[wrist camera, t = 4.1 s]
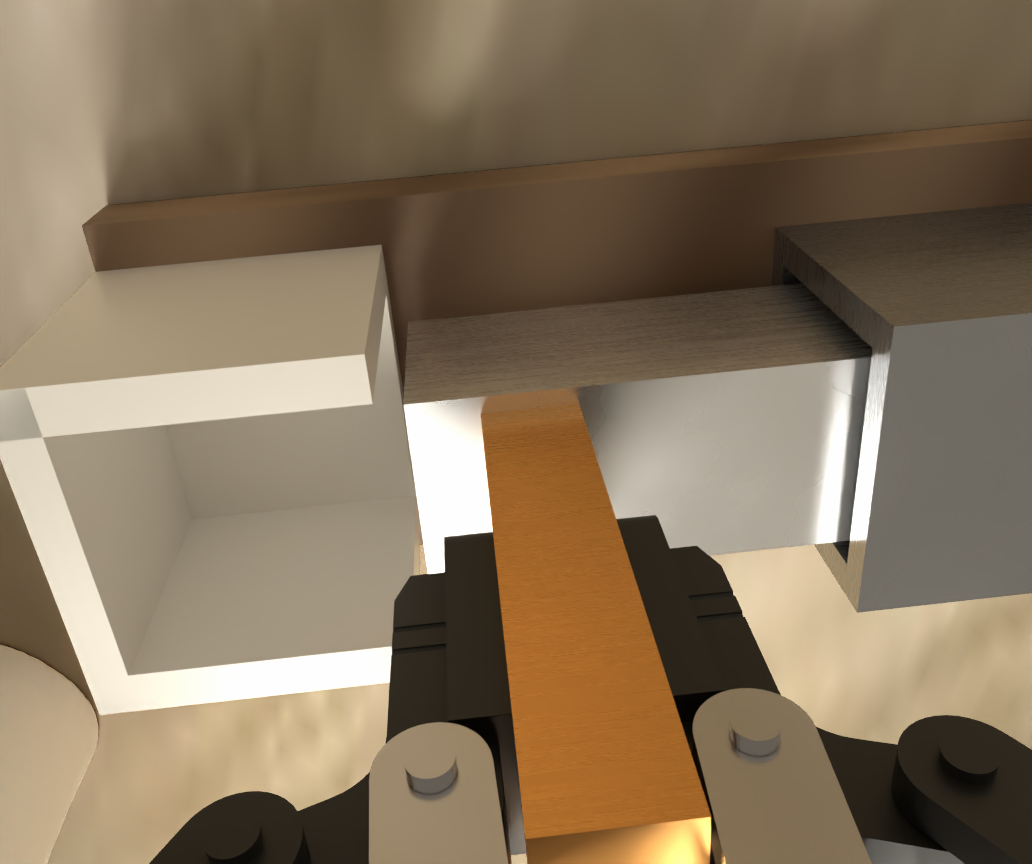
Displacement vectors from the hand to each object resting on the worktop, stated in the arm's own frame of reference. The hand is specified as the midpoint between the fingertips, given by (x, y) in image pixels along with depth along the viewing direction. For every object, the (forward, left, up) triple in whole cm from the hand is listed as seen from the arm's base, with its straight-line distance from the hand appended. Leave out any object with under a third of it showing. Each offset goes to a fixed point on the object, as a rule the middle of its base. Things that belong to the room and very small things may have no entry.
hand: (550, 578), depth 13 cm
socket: (-3, +4, -7) cm, 9 cm away
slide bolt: (+3, -4, -6) cm, 8 cm away
